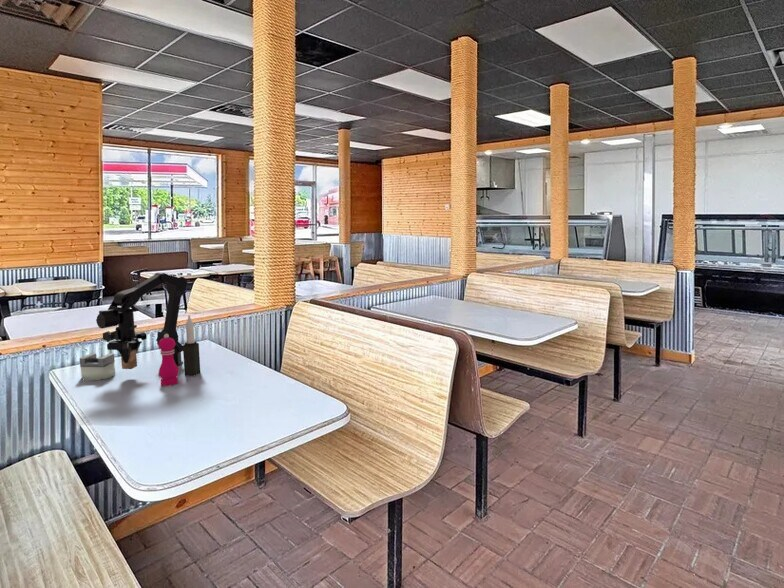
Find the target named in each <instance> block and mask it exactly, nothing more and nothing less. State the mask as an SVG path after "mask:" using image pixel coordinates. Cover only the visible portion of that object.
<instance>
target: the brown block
mask: <svg viewBox="0 0 784 588" xmlns="http://www.w3.org/2000/svg"><path fill="white" fill-rule="evenodd" d="M120 360H121V361H120V362H121V369H122V370H132V369H135V368H136V367H138V360H137V353H136V350H131V351H130V356H129V360H128V363H125V362H124V360H123V358H122V356H121V355H120Z"/></svg>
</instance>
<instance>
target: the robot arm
mask: <svg viewBox="0 0 784 588" xmlns="http://www.w3.org/2000/svg"><path fill="white" fill-rule="evenodd" d="M162 284H163V285H166V291H167V295H168V300H167V306H166V311H165V317H164V323H163V324H164V325H163V328H162V330H161V331H157V334H156V335H157V338H156V344H157V346H158V344H159V341H160V340H161V339H163V338H164V335H165V334H168V335H169V338H172V339H173V340H174V341H175V347H174V348H173V349H174V353H173V357H174V361H175V363H176V365H177V367H179V366H180V365H182V364H184V360H182V353H183V345H184V344H181V343H180V342H179V333H178V331H177V325H178V318H179V311H180V307H181V306H180V305H181V299H182V298H183V297H182V296H183V295H184V294H185V292H186V291H187V287H188V280H187V278H185V277H184V276H179V275H170V274H167V273H165V272H156V273H154V275H152V276H149V278H147V279H146V280H145V279H144V281H142V282H140V283H138V284H137V285H135V286H134V287H131V288H128V289H124V290H122V291H121V290H120V291H118V292H117V293H115V294H114V295H113V299H112V302H111V303H110V305H109V306H108V308H107V310H99V311H98V315H97V317H96V320H95V321H96V325H97V326H98V328H99V329H102V330H103V329H107V328H111V327H115V329H114V331H109V330H108V331H105V332H102V340H103V341H106V343H107V344H106V347H107V348H106V349H107V350H108V351H118V352H119V354H120V357H121V356H122V358H123V360H124V362H125V363H128V360H129V356H130V351H131V350H136V354H137V352H138V350H139V348H140V346H141V344H142V342H143V341H144V340H146V339H148V338H147V333H145V332H144V331H136V328H138V325H137V324H135V315H134V313H136V312H138V311H139V309H138V308H137V307H135V305H136V304H137V303H138V302H139V301H140V299H141V297H143V296H144V295H146V294H147V293H149V292H151V291H152V290H154V289H155V288H157V287H159V286H160V285H162ZM139 339H140V340H142V341H140V340H139Z"/></svg>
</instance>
